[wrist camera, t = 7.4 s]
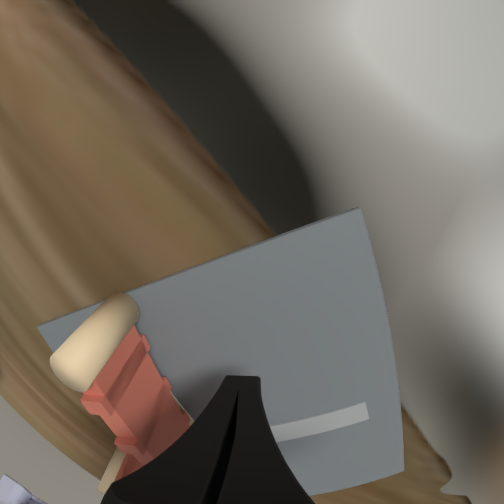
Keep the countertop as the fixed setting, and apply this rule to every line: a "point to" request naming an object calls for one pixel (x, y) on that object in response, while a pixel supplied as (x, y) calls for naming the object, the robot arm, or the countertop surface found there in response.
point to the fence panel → (121, 379)
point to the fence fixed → (118, 469)
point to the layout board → (284, 346)
